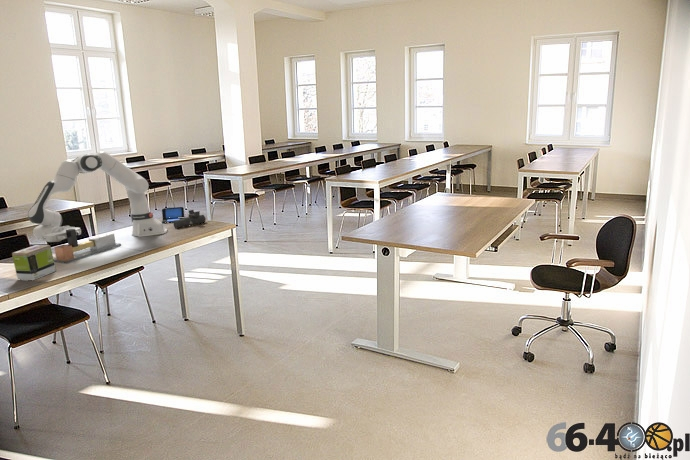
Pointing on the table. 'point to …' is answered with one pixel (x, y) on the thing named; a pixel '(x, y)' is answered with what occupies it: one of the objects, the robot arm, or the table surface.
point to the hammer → (73, 241)
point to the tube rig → (101, 244)
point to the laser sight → (190, 219)
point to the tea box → (33, 262)
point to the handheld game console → (172, 214)
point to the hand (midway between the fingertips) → (72, 235)
